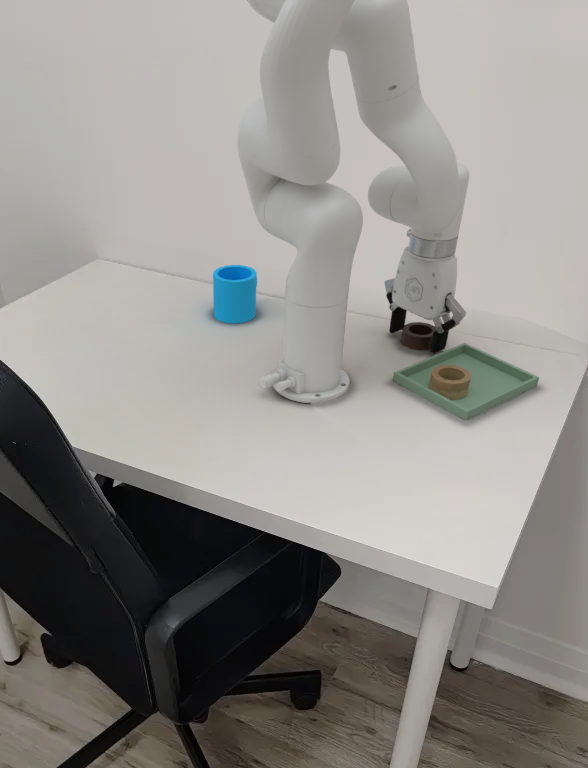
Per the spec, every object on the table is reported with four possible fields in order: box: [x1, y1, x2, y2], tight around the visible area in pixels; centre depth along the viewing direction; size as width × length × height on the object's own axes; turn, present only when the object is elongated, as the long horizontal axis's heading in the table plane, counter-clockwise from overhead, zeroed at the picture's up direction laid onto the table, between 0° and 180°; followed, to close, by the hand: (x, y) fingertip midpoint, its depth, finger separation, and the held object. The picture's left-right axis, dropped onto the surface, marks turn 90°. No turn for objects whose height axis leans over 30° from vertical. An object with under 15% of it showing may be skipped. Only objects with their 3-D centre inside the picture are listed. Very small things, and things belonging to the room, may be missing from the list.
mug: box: [212, 264, 258, 324], centre depth 147 cm, size 12×8×8 cm
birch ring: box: [429, 365, 471, 400], centre depth 123 cm, size 6×6×3 cm
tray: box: [392, 342, 540, 421], centre depth 125 cm, size 17×15×2 cm
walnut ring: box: [400, 321, 437, 351], centre depth 136 cm, size 6×6×3 cm
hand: (416, 340), depth 136 cm, fingers open, 9 cm apart
